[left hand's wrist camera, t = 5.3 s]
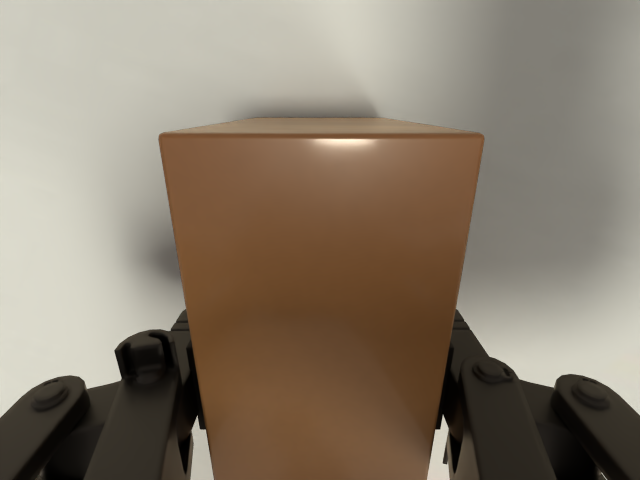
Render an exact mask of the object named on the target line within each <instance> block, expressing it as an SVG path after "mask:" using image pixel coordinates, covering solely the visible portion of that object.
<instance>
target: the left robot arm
mask: <svg viewBox="0 0 640 480" xmlns="http://www.w3.org/2000/svg"><path fill="white" fill-rule="evenodd" d="M115 355H116V359H117V362H118V366H119V370H120V373H121V377H122V379H121V381H118V382H115V383H112V384H107V385H103V386H98V387H94V388H90V389H87V388H86V385H85V382H84V380H82V379H81V378H80V377H77V376H62V377H57V378H54V379H51V380H48V381H45V382H43V383H41V384H40V385H38V386H36V387H34V388H32V389H31V390H30V391H28V392H27V393H26V394H25V395H23V396H22V397H21V398H20V399H19V400H18V401H17V402H16V403H15V404H14V405H13V406H12V407H11V408H10V409H9V410H8V411H7V412H6V413H5V414H4V415H3V416H2V417H1V418H0V480H35V479H36V480H190V477H191V466H192V455H193V444H194V443H193V436H192V431H191V430H192V427H193V425H194V422H195V420H196V417H197V415H198V420H199V426H200V429H206V427H205V420H204V414H203V408H202V402H201V396H200V390H199V384H198V378H197V372H196V365H195V359H194V353H193V347H192V341H191V335H190V329H189V323H188V317H187V310H186V309H185V310H184V311H183V312H182V313H181V315H180V316H179V318H178V319H177V321H176V323H175V324H174V325H173V327H172V328H171V331H165V330H161V329H159V330H147V331H143V332H139V333H137V334H135V335H132V336H130V337H128V338H127V339H125V340H124V341H123V342H121V343H120V344H119V345H118V347H117V348H116V349H115ZM443 415H444V418H445V420H446V423H447V425H448V428H449V431H448V436H447V442H446V447H445V452H444V458H443V464H447V462H448V465H449V476H450V480H606V479H607V480H640V415H639V414H638V413H637V412H636V411H635V410H634V409H633V408H632V407H631V406H630V405H629V404H628V403H626V402H625V401H624V400H623V399H622V398H621V397H620V396H619V395H618V394H617V393H616V392H614V391H613V390H612V389H610V388H609V387H608V386H606V385H604V384H602V383H600V382H598V381H596V380H594V379H591V378H588V377H585V376H581V375H574V374H568V375H562V376H560V377H559V378H558V379H557V380H556V383H555V386H554V388H552V387H548V386H544V385H539V384H535V383H530V382H527V381H523V380H520V379H519V378H518V377H517V375H516V374H515V372H514V371H513V370H512V369H511V368H510V367H509V366H508V365H506V364H505V363H503V362H501V361H499V360H497V359H495V358H492V357H489V356H488V354H487V353H486V351H485V350H484V348H483V347H482V345H481V344H480V343H479V341H478V340H477V338H476V337H475V335H474V334H473V332H472V331H471V330H470V328H469V326H468V325H467V323H466V322H464V319H463V317H462V316H461V314H460V313H459V312H458V310H457V309H456V310H455V316H454V322H453V328H452V334H451V340H450V345H449V351H448V357H447V363H446V369H445V375H444V381H443V387H442V393H441V398H440V404H439V410H438V416H437V422H436V428H435V429H440V427H441V422H442V416H443ZM601 472H602V473H603V475H604V476H605V477H606V479H605V478H604V476H603V475H602V474H601ZM38 475H39V476H38ZM37 476H38V477H37ZM36 477H37V478H36Z"/></svg>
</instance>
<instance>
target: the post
mask: <svg viewBox="0 0 640 480" xmlns="http://www.w3.org/2000/svg"><path fill="white" fill-rule="evenodd" d="M159 145H160V152H161V158H162V164H163V170H164V176H165V182H166V188H167V194H168V200H169V207H170V213H171V219H172V225H173V231H174V237H175V243H176V249H177V255H178V262H179V268H180V274H181V280H182V286H183V292H184V298H185V304H186V310H187V317H188V323H189V329H190V335H191V341H192V347H193V353H194V359H195V365H196V372H197V378H198V384H199V390H200V396H201V402H202V408H203V414H204V420H205V427H206V433H207V439H208V445H209V451H210V457H211V463H212V469H213V475H214V480H427V475H428V469H429V463H430V457H431V452H432V446H433V440H434V434H435V428H436V422H437V416H438V410H439V404H440V398H441V393H442V387H443V381H444V375H445V369H446V363H447V357H448V351H449V345H450V340H451V334H452V328H453V322H454V316H455V310H456V304H457V298H458V292H459V286H460V281H461V275H462V269H463V263H464V257H465V251H466V245H467V239H468V233H469V227H470V222H471V216H472V210H473V204H474V198H475V192H476V186H477V180H478V174H479V169H480V163H481V157H482V151H483V145H484V135H483V134H481V133H477V132H470V131H464V130H458V129H451V128H445V127H438V126H432V125H426V124H419V123H413V122H406V121H400V120H394V119H387V118H251V119H245V120H239V121H232V122H226V123H220V124H214V125H207V126H201V127H195V128H189V129H182V130H176V131H170V132H164V133H161V134H160V135H159Z"/></svg>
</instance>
